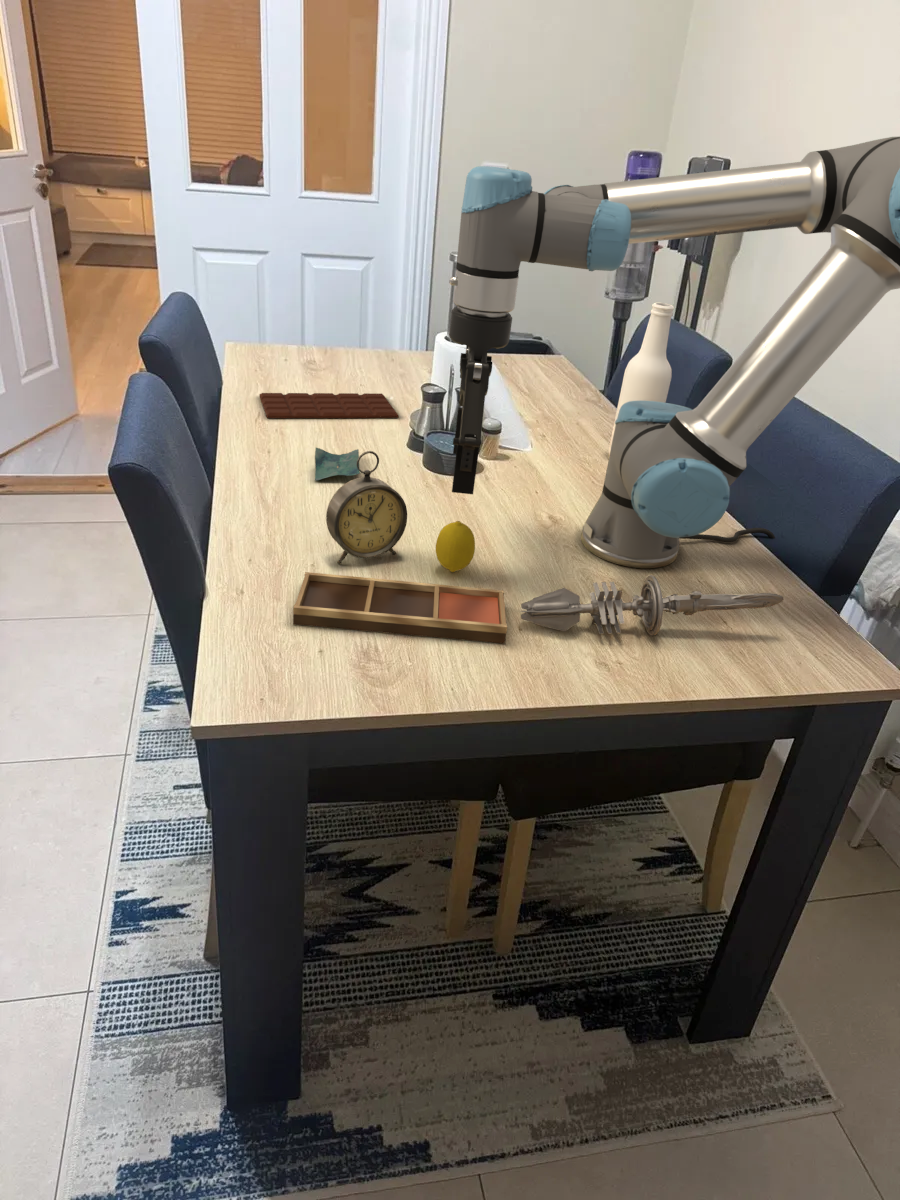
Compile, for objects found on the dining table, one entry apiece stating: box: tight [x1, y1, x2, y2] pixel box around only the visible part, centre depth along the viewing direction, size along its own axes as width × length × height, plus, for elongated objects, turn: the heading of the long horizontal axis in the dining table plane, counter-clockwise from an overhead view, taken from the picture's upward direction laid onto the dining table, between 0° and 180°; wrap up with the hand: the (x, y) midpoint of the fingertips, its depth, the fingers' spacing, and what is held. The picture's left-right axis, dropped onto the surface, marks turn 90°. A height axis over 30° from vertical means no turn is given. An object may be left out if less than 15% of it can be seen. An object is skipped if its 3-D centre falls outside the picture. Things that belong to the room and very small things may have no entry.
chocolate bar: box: [259, 392, 399, 419], centre depth 178 cm, size 27×14×1 cm, turn 107°
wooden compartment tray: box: [292, 571, 508, 644], centre depth 109 cm, size 27×9×2 cm, turn 89°
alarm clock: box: [325, 450, 408, 565], centre depth 119 cm, size 11×5×16 cm, turn 117°
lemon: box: [435, 520, 476, 573], centre depth 119 cm, size 6×6×8 cm
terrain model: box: [314, 447, 361, 481], centre depth 149 cm, size 13×8×2 cm, turn 6°
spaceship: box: [519, 574, 784, 637], centre depth 111 cm, size 8×35×8 cm
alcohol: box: [608, 301, 675, 456], centre depth 162 cm, size 9×9×30 cm
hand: (462, 472), depth 114 cm, fingers open, 13 cm apart
